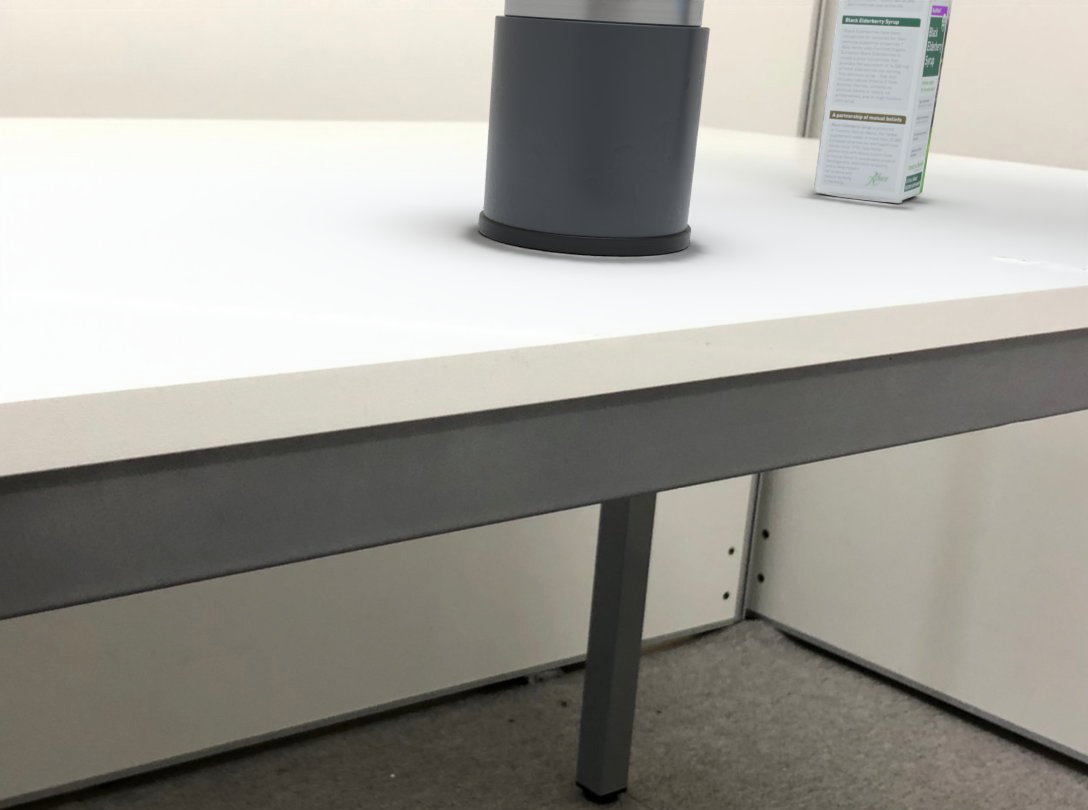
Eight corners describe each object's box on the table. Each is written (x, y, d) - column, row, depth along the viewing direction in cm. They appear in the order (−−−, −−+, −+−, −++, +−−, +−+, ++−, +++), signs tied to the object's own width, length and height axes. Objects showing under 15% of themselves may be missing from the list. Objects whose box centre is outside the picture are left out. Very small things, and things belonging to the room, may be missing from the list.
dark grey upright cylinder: (683, 226, 69) (711, -17, 65) (695, 262, 59) (729, -21, 55) (487, 212, 70) (502, -28, 66) (467, 246, 60) (484, -34, 56)
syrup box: (901, 204, 82) (944, -46, 77) (808, 193, 84) (844, -49, 79) (922, 196, 86) (964, -41, 81) (833, 185, 89) (868, -44, 84)
